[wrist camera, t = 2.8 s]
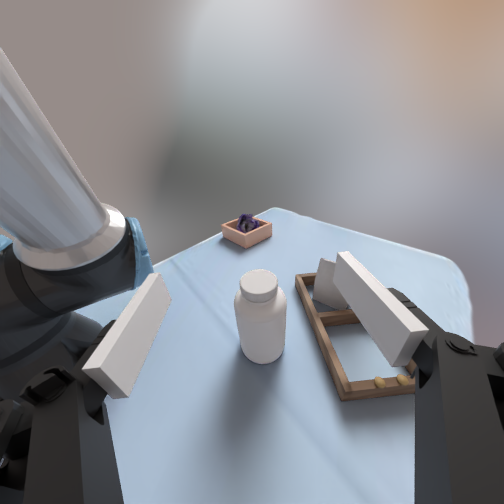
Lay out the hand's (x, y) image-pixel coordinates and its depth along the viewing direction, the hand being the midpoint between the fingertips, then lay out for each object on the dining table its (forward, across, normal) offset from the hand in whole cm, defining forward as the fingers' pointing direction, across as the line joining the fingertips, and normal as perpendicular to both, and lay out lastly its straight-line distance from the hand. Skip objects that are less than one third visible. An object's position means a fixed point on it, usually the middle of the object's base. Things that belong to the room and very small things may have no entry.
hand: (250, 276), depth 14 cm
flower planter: (+53, -1, -21) cm, 57 cm away
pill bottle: (+9, 0, -23) cm, 24 cm away
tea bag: (+17, +16, -23) cm, 33 cm away
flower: (+54, -1, -22) cm, 58 cm away
